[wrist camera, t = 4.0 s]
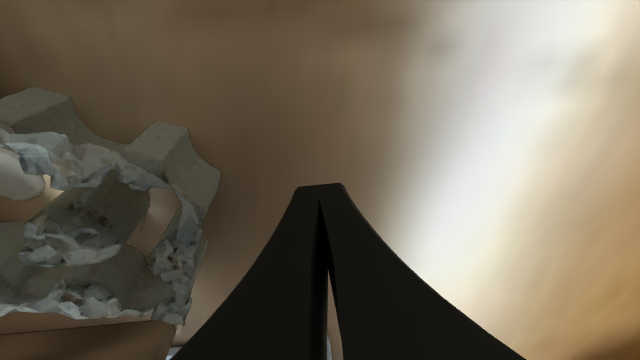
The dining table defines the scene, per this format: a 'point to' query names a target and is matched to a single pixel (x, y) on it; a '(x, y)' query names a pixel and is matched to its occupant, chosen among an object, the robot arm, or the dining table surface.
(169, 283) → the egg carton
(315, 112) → the dining table surface
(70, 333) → the brown flat cross-shaped frame
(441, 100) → the dining table surface
